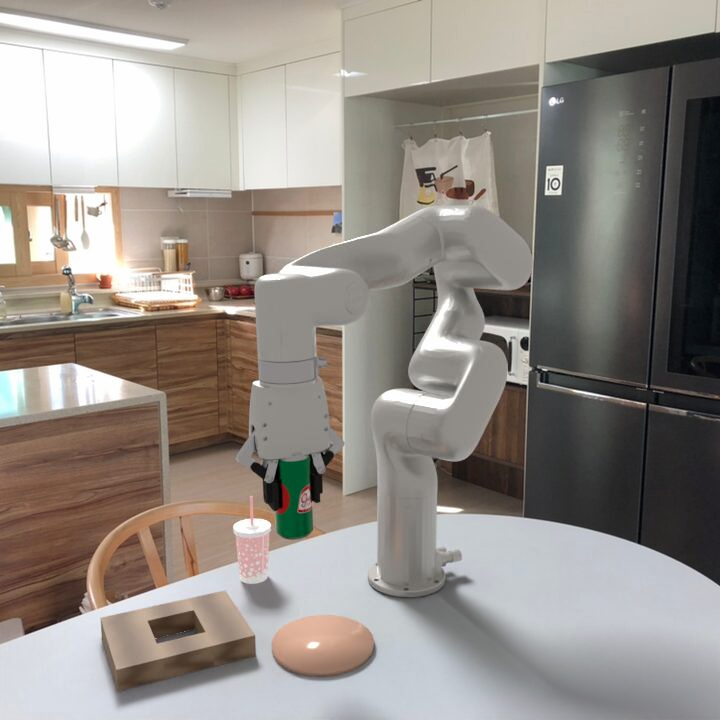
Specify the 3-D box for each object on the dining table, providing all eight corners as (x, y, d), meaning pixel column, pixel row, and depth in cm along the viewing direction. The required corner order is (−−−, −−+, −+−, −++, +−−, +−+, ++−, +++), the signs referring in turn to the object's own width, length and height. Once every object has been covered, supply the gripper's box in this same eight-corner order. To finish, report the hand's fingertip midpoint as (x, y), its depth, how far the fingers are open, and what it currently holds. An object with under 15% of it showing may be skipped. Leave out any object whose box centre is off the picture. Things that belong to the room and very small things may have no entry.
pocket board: (226, 608, 116) (225, 590, 115) (255, 655, 103) (255, 635, 103) (101, 637, 108) (100, 617, 107) (117, 691, 96) (116, 669, 95)
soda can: (307, 543, 100) (304, 455, 97) (270, 539, 101) (266, 453, 99) (318, 526, 105) (315, 443, 102) (283, 524, 106) (279, 441, 103)
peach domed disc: (347, 611, 115) (347, 606, 114) (391, 659, 102) (392, 654, 102) (257, 634, 109) (257, 629, 108) (294, 687, 96) (293, 682, 96)
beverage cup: (257, 565, 130) (255, 486, 127) (279, 577, 126) (278, 496, 123) (227, 577, 126) (224, 496, 123) (249, 589, 121) (247, 506, 119)
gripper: (337, 358, 105) (341, 483, 109) (215, 372, 98) (223, 505, 102) (360, 368, 98) (363, 501, 102) (230, 384, 92) (239, 526, 95)
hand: (293, 502), depth 102 cm, fingers closed on soda can, 5 cm apart
